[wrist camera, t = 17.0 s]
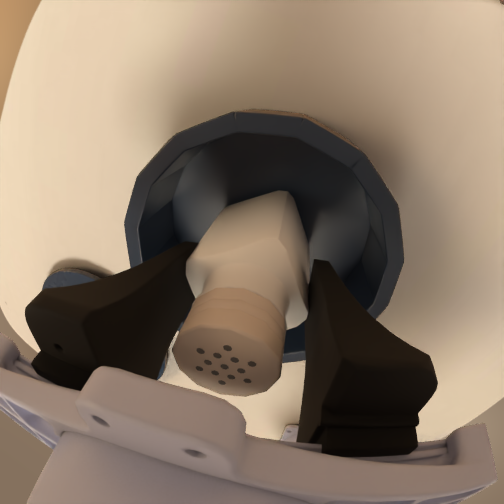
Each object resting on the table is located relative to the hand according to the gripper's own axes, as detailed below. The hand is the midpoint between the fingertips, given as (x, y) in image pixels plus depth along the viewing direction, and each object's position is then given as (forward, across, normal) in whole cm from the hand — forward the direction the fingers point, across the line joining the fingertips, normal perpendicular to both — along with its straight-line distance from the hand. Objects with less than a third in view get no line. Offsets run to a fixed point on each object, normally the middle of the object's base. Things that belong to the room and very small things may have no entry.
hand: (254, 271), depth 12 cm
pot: (+5, 0, 0) cm, 5 cm away
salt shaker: (+5, 0, 0) cm, 5 cm away
